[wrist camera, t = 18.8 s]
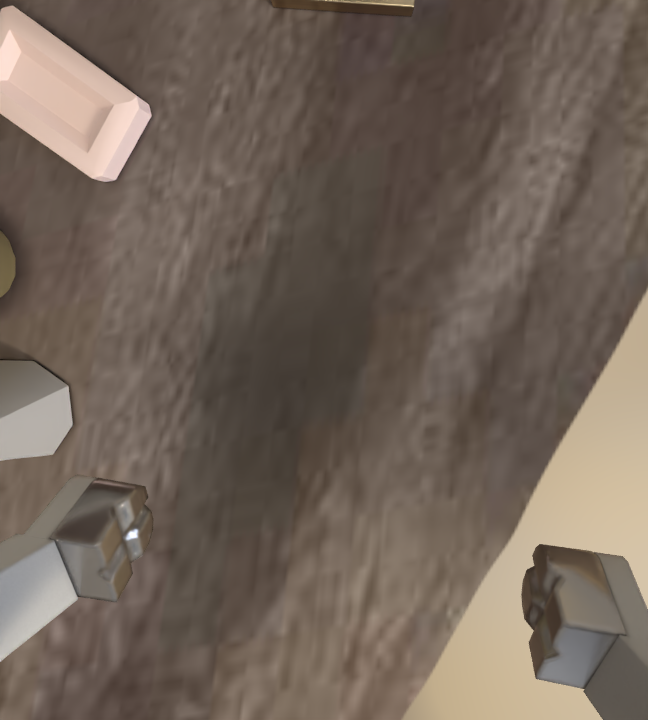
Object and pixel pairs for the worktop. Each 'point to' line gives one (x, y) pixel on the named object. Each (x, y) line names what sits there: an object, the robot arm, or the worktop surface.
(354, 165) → the worktop surface
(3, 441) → the flask
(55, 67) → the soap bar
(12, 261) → the squeeze bottle
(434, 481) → the worktop surface
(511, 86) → the worktop surface
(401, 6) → the cream lever mount
